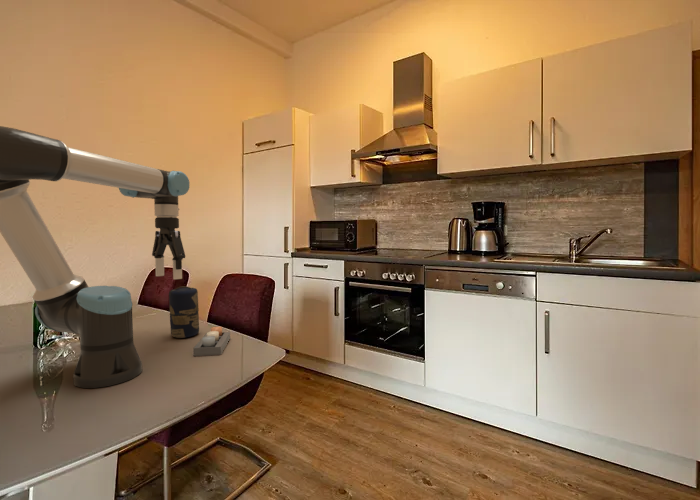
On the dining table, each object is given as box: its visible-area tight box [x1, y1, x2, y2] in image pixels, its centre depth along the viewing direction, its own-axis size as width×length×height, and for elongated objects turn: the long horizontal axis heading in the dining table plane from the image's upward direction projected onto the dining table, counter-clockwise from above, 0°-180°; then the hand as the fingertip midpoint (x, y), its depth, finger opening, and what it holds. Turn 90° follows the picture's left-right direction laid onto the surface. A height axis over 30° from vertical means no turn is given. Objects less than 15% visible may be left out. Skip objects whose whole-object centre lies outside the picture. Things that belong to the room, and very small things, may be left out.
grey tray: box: [192, 331, 231, 357], centre depth 120 cm, size 16×8×2 cm, turn 8°
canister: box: [168, 285, 200, 339], centre depth 132 cm, size 10×10×18 cm
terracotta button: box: [210, 326, 223, 336], centre depth 125 cm, size 4×4×2 cm
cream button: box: [206, 330, 219, 341], centre depth 120 cm, size 4×4×2 cm
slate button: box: [202, 336, 215, 347], centre depth 114 cm, size 4×4×2 cm
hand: (168, 277), depth 130 cm, fingers open, 13 cm apart
